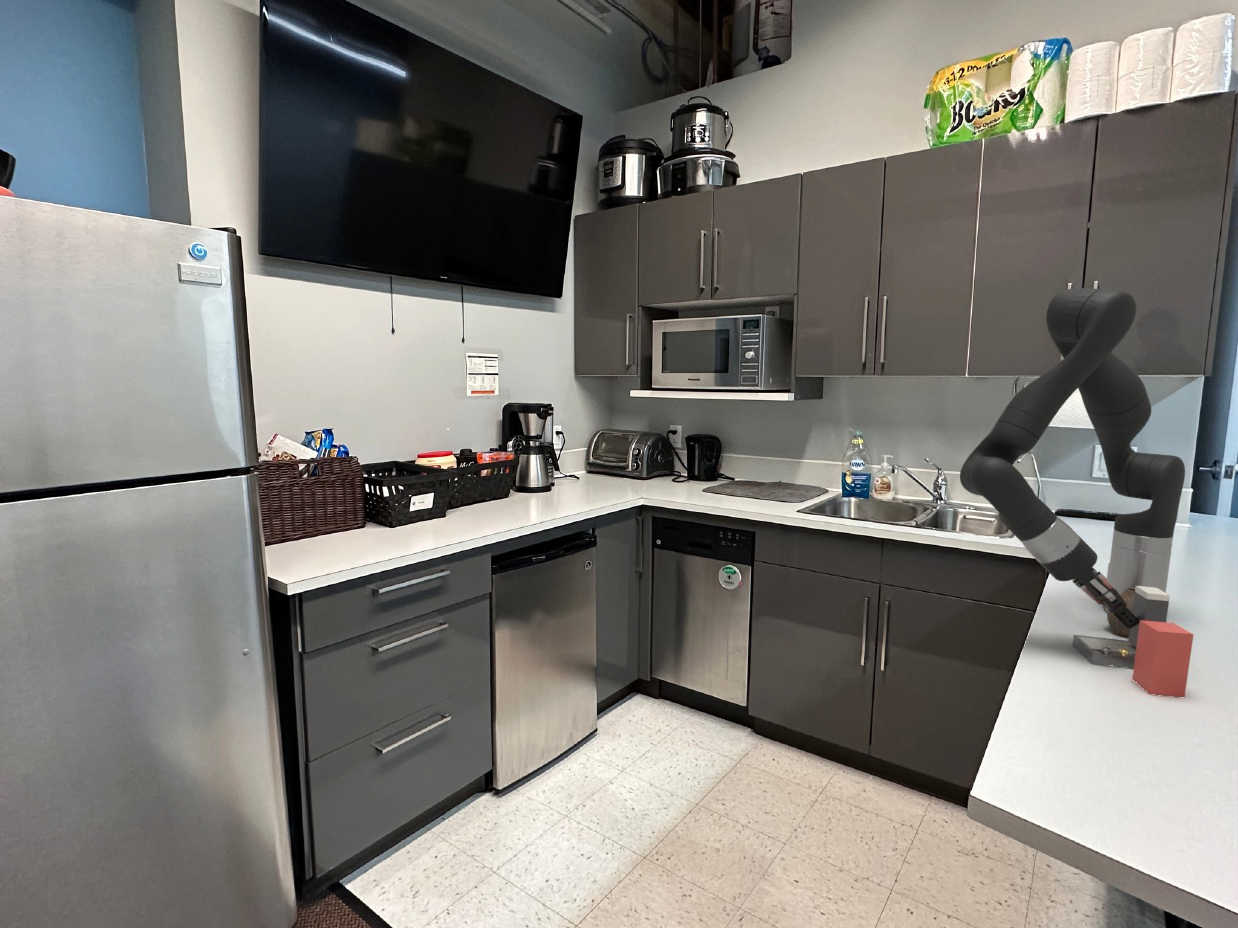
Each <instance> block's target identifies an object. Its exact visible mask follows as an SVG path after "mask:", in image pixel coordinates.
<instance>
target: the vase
mask: <svg viewBox="0 0 1238 928" xmlns="http://www.w3.org/2000/svg"><path fill="white" fill-rule="evenodd" d="M1134 594H1135V588H1126V589H1125V590H1124V591H1123V592H1122V593H1121V594H1120V596H1121V597H1122V599H1123V600H1124V601H1125V602H1126V604H1127V606H1126V608H1127V609H1128V610H1129V611H1130V612H1131V613H1132V610H1133V602H1134ZM1106 619H1107V623H1108V624H1109V625H1108V626H1109V627H1110V628H1111V629H1112V631H1113V632H1115V634H1117V635H1119V636H1121V637H1122V636H1123V637H1125V636H1127V637H1126V638H1129V634H1130V629H1128V628H1126V627H1125V626H1124V625H1123V624H1122V623H1121V622H1120V621H1119V620H1118V619H1117V618H1116V617H1115V616H1114V615H1113V614H1112V613H1111V612H1109V611H1106Z"/></svg>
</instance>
